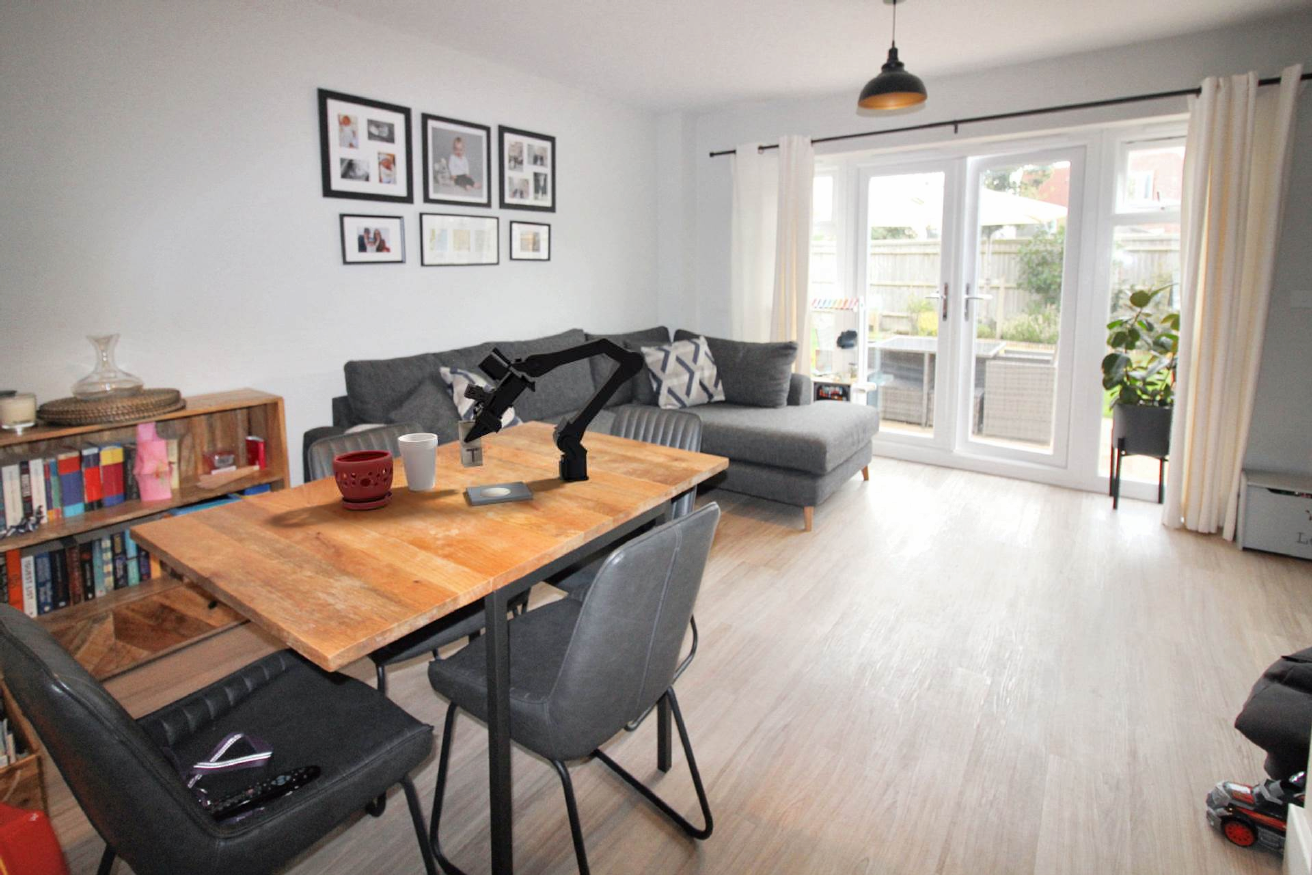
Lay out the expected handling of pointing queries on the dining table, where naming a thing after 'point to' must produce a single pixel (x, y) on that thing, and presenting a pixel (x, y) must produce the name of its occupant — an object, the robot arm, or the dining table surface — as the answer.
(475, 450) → the letter block
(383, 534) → the dining table surface
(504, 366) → the robot arm
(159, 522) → the dining table surface
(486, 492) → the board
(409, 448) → the foam cup
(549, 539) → the dining table surface
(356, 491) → the plant pot
